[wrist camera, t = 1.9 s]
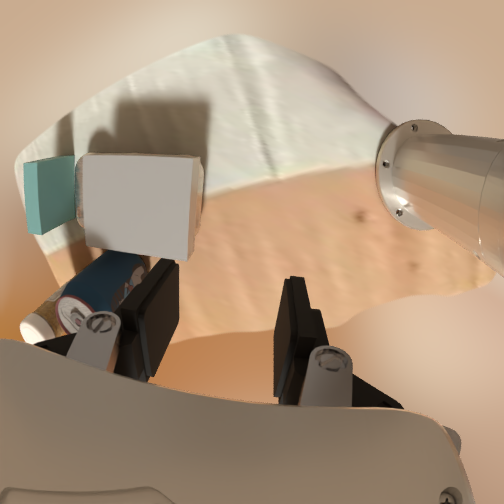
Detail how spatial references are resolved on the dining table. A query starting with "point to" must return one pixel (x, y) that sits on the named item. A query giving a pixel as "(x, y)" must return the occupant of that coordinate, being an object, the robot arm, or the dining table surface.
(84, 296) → the soda can
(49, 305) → the sprinkles bottle
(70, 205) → the block
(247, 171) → the dining table surface
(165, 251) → the slab
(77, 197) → the cylinder
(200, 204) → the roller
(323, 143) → the dining table surface
